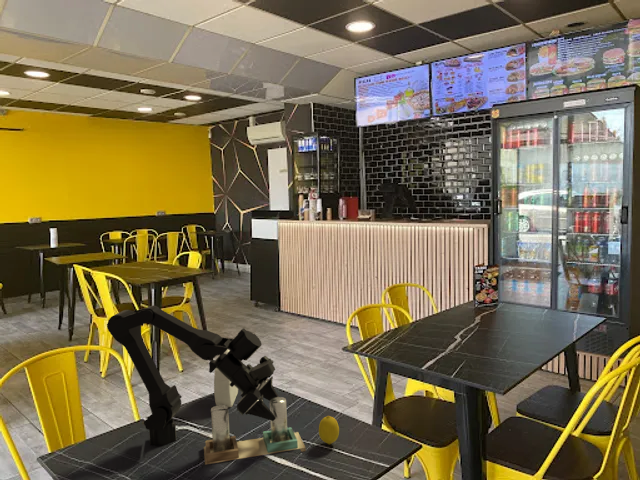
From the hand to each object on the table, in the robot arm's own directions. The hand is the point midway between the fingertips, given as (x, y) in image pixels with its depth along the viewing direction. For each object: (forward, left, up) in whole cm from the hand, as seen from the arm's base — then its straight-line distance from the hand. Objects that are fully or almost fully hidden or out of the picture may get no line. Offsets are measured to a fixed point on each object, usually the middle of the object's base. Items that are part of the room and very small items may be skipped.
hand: (277, 411), depth 134 cm
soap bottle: (-11, +36, -10) cm, 39 cm away
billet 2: (0, 0, -9) cm, 9 cm away
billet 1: (-15, 0, -9) cm, 18 cm away
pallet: (-7, 0, -10) cm, 12 cm away
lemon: (+13, -3, -10) cm, 17 cm away
